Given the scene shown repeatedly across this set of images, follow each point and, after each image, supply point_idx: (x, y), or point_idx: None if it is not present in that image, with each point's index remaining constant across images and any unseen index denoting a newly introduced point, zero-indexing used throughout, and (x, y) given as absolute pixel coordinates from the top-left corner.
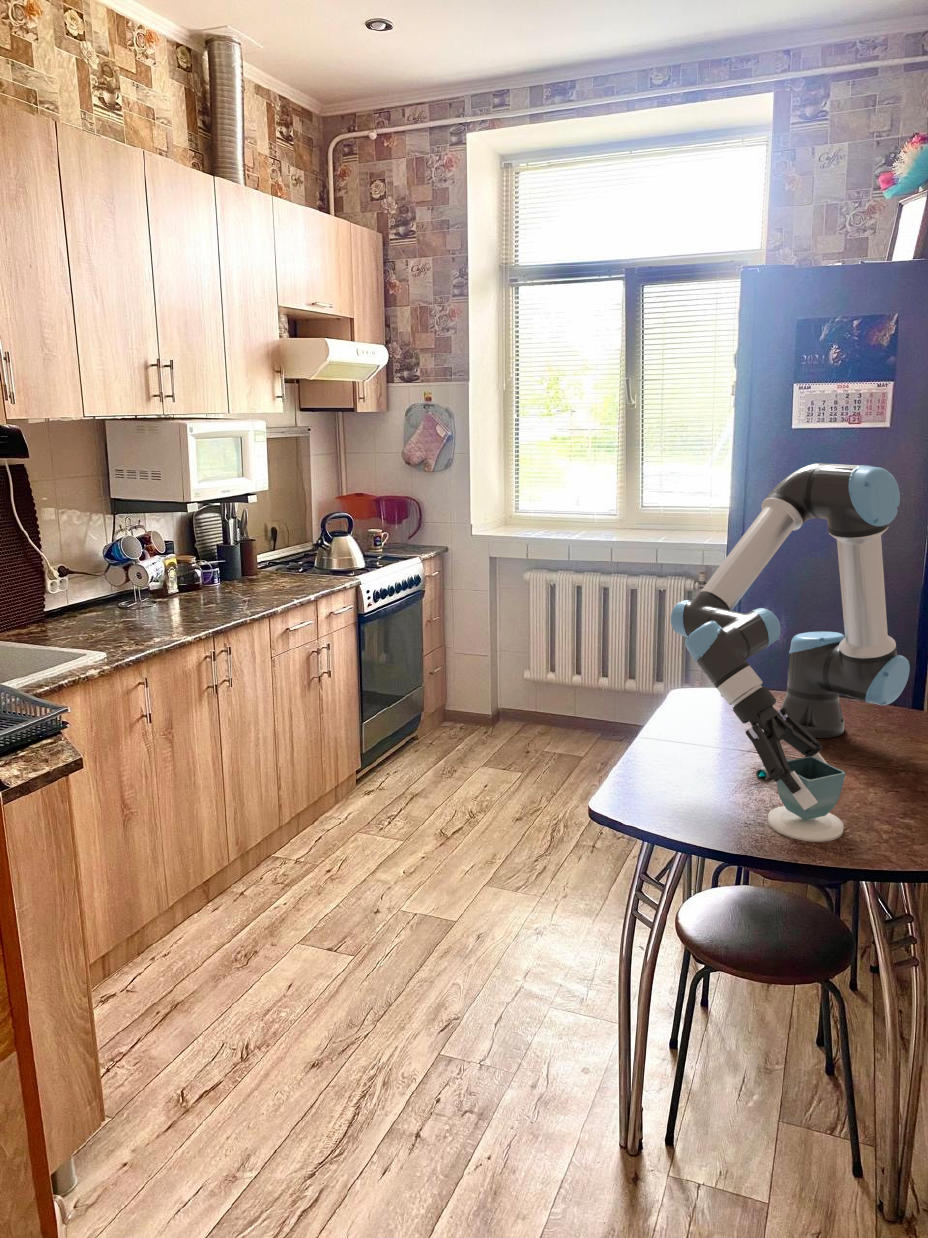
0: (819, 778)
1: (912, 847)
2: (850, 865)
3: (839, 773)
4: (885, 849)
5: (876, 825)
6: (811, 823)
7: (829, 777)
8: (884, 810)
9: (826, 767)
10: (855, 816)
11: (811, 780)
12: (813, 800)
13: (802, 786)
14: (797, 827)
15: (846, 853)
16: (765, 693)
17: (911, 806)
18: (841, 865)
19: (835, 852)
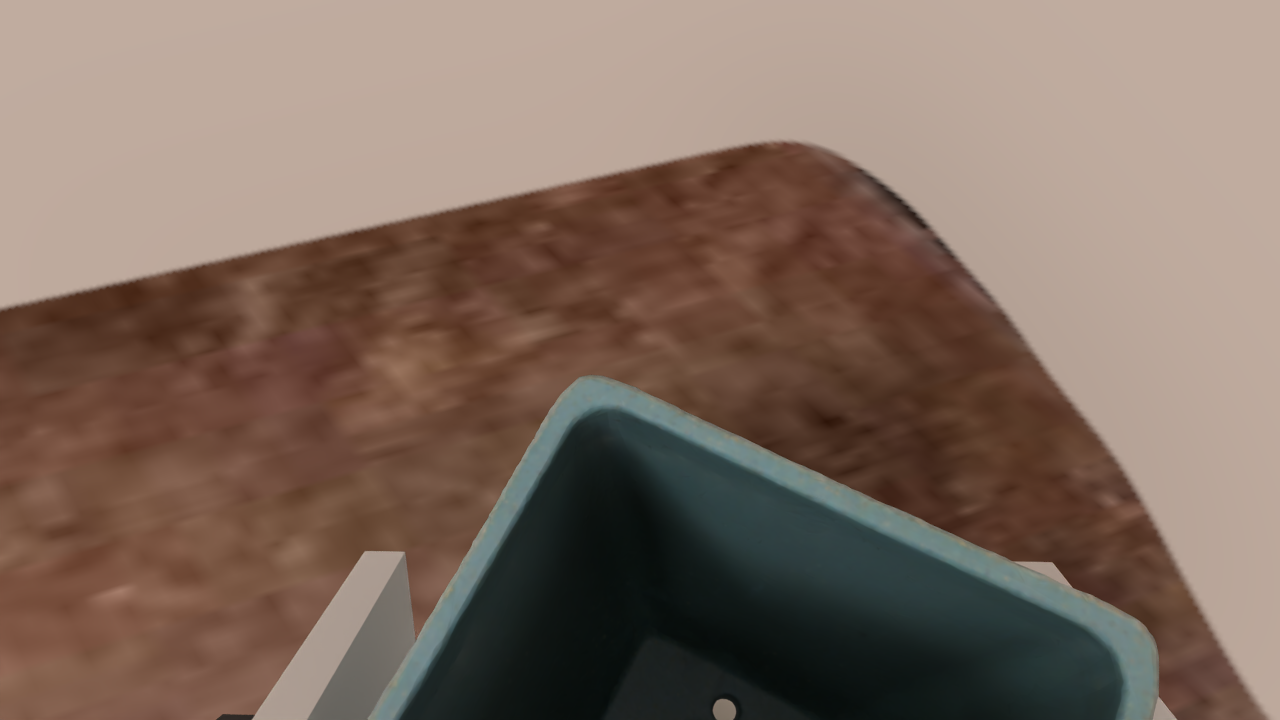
0: (983, 553)
1: (579, 203)
2: (1014, 360)
3: (568, 455)
4: (692, 286)
5: (407, 404)
6: (730, 713)
7: (829, 479)
8: (154, 430)
9: (457, 650)
10: (336, 541)
11: (1120, 616)
12: (1071, 586)
13: (1168, 717)
14: None
15: (893, 420)
16: None
17: (28, 332)
18: (1055, 395)
19: (930, 471)
